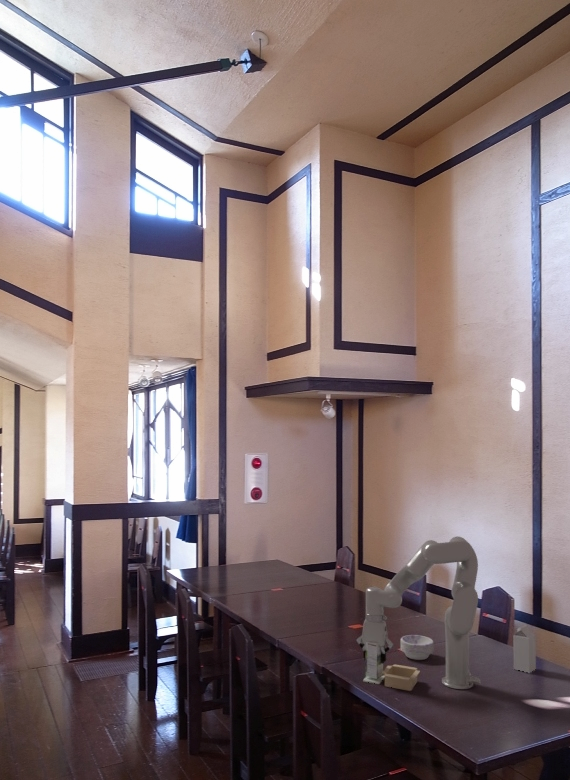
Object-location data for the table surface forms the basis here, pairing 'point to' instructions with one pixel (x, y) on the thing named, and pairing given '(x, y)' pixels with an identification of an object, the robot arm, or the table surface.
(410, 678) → the carton
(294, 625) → the table surface
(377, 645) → the syrup box
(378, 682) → the plate
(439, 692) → the table surface
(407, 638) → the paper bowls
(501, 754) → the table surface
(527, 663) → the milk carton
